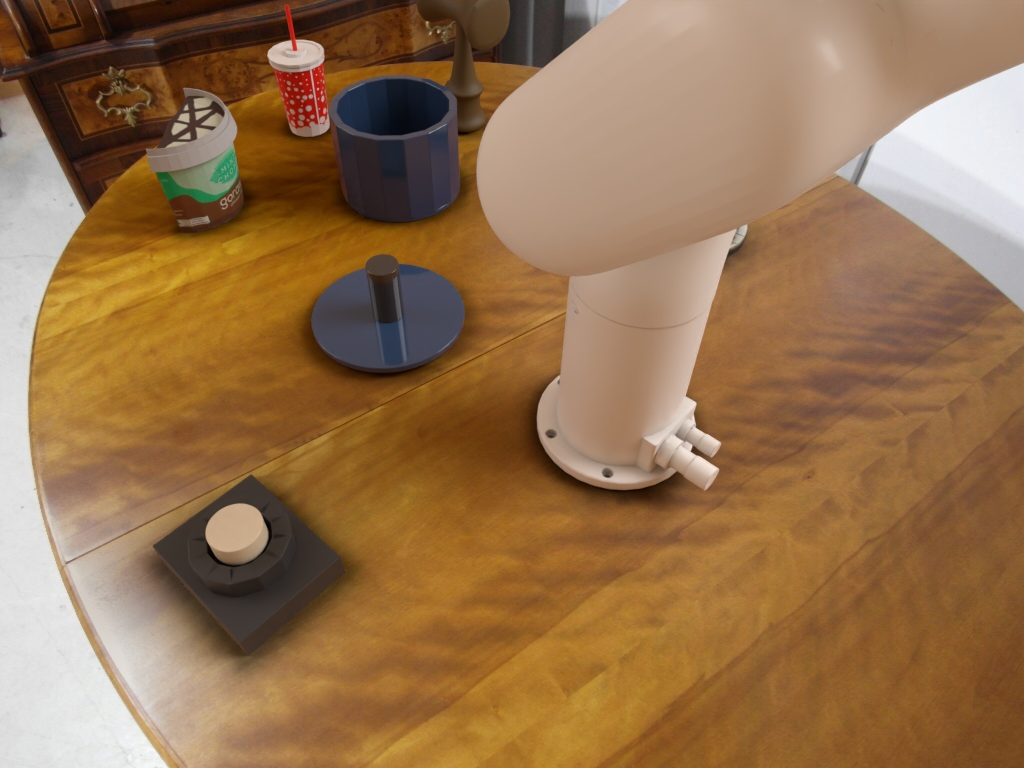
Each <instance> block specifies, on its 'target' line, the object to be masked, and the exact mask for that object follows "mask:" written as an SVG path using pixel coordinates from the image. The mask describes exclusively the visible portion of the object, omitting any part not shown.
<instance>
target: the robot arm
mask: <svg viewBox="0 0 1024 768" xmlns="http://www.w3.org/2000/svg"><path fill="white" fill-rule="evenodd" d="M1022 64H1024V0H626V1H625V2H624V3H622V4H621V5H620V6H619V7H617V8H616V9H614V10H613V11H612V12H611V13H609V14H608V15H607V16H606V17H604V19H602V20H601V21H599V23H598V24H596V25H595V26H593V27H592V28H591V29H590V30H588V31H587V32H586V33H585V34H584V35H582V36H581V37H579V38H578V39H577V40H576V41H575V42H573V43H572V44H571V45H570V46H569V47H567V48H566V49H565V50H563V51H562V52H561V53H560V54H558V55H557V56H556V57H554V59H552V60H551V61H550V62H549V63H547V64H545V66H543V67H542V68H541V69H539V71H537V72H536V73H535V74H534V75H532V76H531V77H529V78H528V79H527V80H526V81H524V83H522V84H521V85H520V86H518V87H517V88H516V89H515V90H514V91H512V93H510V94H509V95H508V96H507V97H506V98H505V99H504V100H503V101H502V102H500V104H499V105H498V107H497V108H496V109H495V110H494V111H493V114H492V115H491V117H490V118H489V120H488V121H487V123H486V126H485V129H484V131H483V133H482V136H481V139H480V143H479V147H478V151H477V157H476V158H477V159H476V170H475V171H476V173H475V174H476V186H477V194H478V198H479V202H480V206H481V208H482V212H483V214H484V217H485V219H486V221H487V223H488V225H489V226H490V228H491V229H492V231H493V233H494V234H495V235H496V237H497V238H498V240H499V241H500V242H501V243H502V244H503V245H504V246H505V247H506V248H507V249H508V250H509V251H510V252H511V254H513V255H514V256H516V257H517V258H518V259H520V260H522V261H523V262H524V263H526V264H528V265H530V266H532V267H534V268H536V269H538V270H541V271H543V272H546V273H549V274H553V275H557V276H563V277H564V276H565V277H569V280H568V289H567V300H566V312H565V322H564V332H563V343H562V354H561V361H560V362H561V363H560V373H559V375H557V376H556V377H554V379H553V380H552V381H551V382H550V383H549V384H548V385H547V387H546V388H545V389H544V391H543V393H542V394H541V397H540V398H539V399H540V400H539V402H538V405H537V413H536V430H537V435H538V438H539V441H540V444H541V445H542V447H543V449H544V451H545V453H546V454H547V455H548V456H549V458H550V459H551V461H553V463H554V464H555V465H557V466H558V467H559V468H560V469H561V470H563V472H565V473H567V475H569V476H571V477H572V478H575V479H576V480H578V481H581V482H583V483H586V484H588V485H590V486H593V487H597V488H603V489H606V490H617V491H629V490H630V491H631V490H640V489H644V488H647V487H651V486H654V485H657V484H659V483H661V482H663V481H666V480H667V479H669V478H670V477H672V476H673V475H674V474H675V473H679V474H681V475H682V476H683V478H685V479H686V480H687V481H689V482H690V483H692V484H693V485H695V486H696V487H698V488H699V489H701V490H702V491H704V492H705V491H707V490H708V489H709V488H710V486H712V484H713V483H714V481H715V479H716V478H717V476H718V474H719V472H720V468H718V466H716V465H714V464H713V463H711V462H709V461H708V460H706V459H705V458H703V457H702V456H700V455H696V454H695V453H693V452H692V449H693V447H695V448H696V450H698V451H700V452H701V453H703V455H706V456H707V457H708V458H710V459H712V458H714V457H715V455H716V454H717V453H718V451H719V450H720V448H721V445H722V442H721V441H719V440H717V438H714V437H713V436H711V435H709V434H708V433H705V432H703V431H702V430H701V429H698V428H697V423H696V419H695V414H694V413H695V411H696V407H697V401H694V400H693V399H692V398H690V397H689V396H687V393H688V389H689V386H690V382H691V379H692V375H693V371H694V368H695V364H696V361H697V358H698V354H699V350H700V347H701V344H702V340H703V337H704V333H705V329H706V325H707V323H708V319H709V315H710V312H711V308H712V305H713V301H714V300H715V297H716V295H717V294H716V293H717V290H718V287H719V282H720V279H721V276H722V273H723V269H724V266H725V263H726V260H727V257H728V256H727V254H728V251H729V248H730V245H731V243H732V240H733V238H734V235H735V232H736V230H737V228H739V227H742V226H744V225H746V224H748V225H749V224H750V223H753V222H755V221H757V220H759V219H761V218H763V217H765V216H767V215H770V214H771V213H773V212H776V211H777V210H780V209H781V208H783V207H784V206H786V205H788V204H790V203H791V202H793V201H795V200H796V199H798V198H799V197H802V196H803V195H804V194H806V193H807V192H809V191H810V190H811V189H813V188H815V187H816V186H817V185H819V184H821V183H822V182H824V181H825V180H826V179H828V178H829V177H831V176H832V175H833V174H834V173H836V172H837V171H839V170H841V168H843V167H844V166H846V165H847V164H848V163H850V162H851V161H853V160H854V159H856V157H858V156H859V155H861V154H862V153H863V152H865V151H866V150H868V149H869V148H871V147H872V146H874V144H876V143H877V142H879V141H880V140H881V139H883V138H884V137H886V136H887V135H888V134H890V133H891V132H893V131H894V130H896V128H898V127H899V126H901V125H902V124H903V123H904V122H906V121H907V120H909V119H910V118H911V117H913V116H914V115H916V114H917V113H919V112H920V111H922V110H924V109H926V108H928V107H929V106H931V105H933V104H935V103H937V102H938V101H940V100H943V99H944V98H945V99H946V98H947V97H949V96H951V95H953V94H955V93H957V92H959V91H962V90H964V89H966V88H968V87H970V86H974V85H975V84H977V83H979V82H982V81H984V80H987V79H989V78H991V77H994V76H996V75H999V74H1001V73H1003V72H1006V71H1009V70H1011V69H1012V68H1016V67H1018V66H1020V65H1022Z"/></svg>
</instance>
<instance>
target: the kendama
mask: <svg viewBox="0 0 1024 768" xmlns="http://www.w3.org/2000/svg"><path fill="white" fill-rule="evenodd" d="M415 3H416V8H417V12H418V14H419V16H420V17H421V19H422V20H423V21H426V22H428V23H432V24H433V23H438V22H442V21H445V20H451V21H453V22H455V38H454V49H453V51H454V53H453V60H452V67H451V68H452V69H451V74H450V77H449V79H448V80H446V81H445V84H444V86H445V87H447V88H448V89H449V90H450V91H451V93H452V94H453V95H454V96H455V97H456V99H457V118H458V133H472V132H475V131H478V130H480V129H481V128H483V127H484V126H485V125H486V124H487V123H488V118H487V117H488V116H487V115H486V113H485V112H484V110H483V109H482V105H481V95H482V94H483V92H484V91H485V87H484V85H483V83H482V82H481V81H480V80H479V79H478V76H477V74H476V68H475V63H474V57H473V51H472V48H473V49H475V50H477V51H481V52H484V51H489V50H491V49H493V48H494V47H496V46H497V45H499V43H500V42H501V41H502V40H503V39H504V37H506V33H507V31H508V28H509V25H510V18H511V8H510V1H509V0H415Z"/></svg>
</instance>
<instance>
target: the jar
mask: <svg viewBox="0 0 1024 768" xmlns="http://www.w3.org/2000/svg"><path fill="white" fill-rule="evenodd" d="M328 115H329V122H330V126H329V127H330V131H331V137H332V144H333V148H334V149H333V150H334V154H335V160H336V166H337V172H338V178H339V183H340V189H341V192H342V195H343V198H344V200H345V202H346V203H347V205H348V206H349V207H350V208H351V209H352V210H353V211H355V212H357V213H358V214H360V215H362V216H364V217H366V218H369V219H371V220H376V221H381V222H387V223H408V222H415V221H420V220H421V221H422V220H425V219H427V218H430V217H433V216H436V215H437V214H439V213H442V212H443V211H445V210H446V209H448V208H449V207H450V206H451V205H452V204H453V203H454V202H455V200H457V197H458V196H459V194H460V190H461V175H460V174H461V173H460V172H461V171H460V170H461V169H460V147H459V146H460V145H459V131H458V118H457V99H456V97H455V96H454V95H453V94H452V93H451V91H450V90H449V89H448V88H447V87H445V85H443V84H441V83H439V82H436V81H434V80H432V79H430V78H425V77H420V76H414V75H411V74H410V75H408V74H393V75H392V74H389V75H388V74H387V75H386V74H385V75H384V74H383V75H378V76H374V77H369V78H364V79H360V80H358V81H356V82H354V83H351V84H349V85H347V86H345V87H342V88H341V90H339V91H338V92H337V93H336V94H335V95H334V96H333V97H332V99H331V100H330V102H329V106H328Z"/></svg>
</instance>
